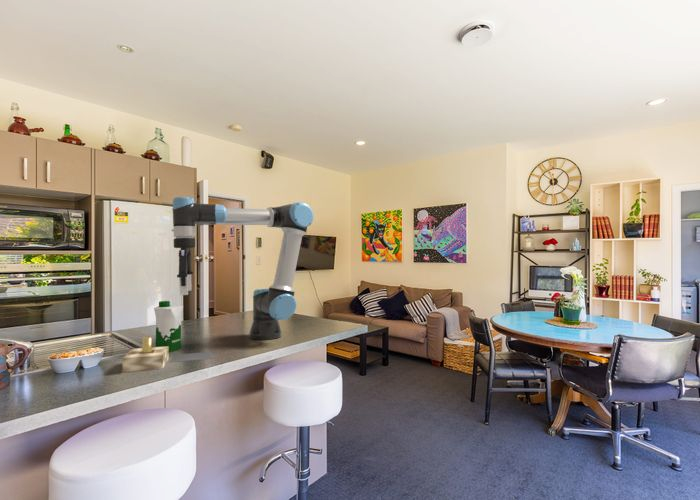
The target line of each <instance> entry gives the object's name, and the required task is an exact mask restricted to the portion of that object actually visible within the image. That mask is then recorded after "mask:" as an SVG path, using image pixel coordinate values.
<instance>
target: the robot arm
mask: <svg viewBox="0 0 700 500" xmlns="http://www.w3.org/2000/svg"><path fill="white" fill-rule="evenodd" d="M171 211H172V221H173V222H172V223H173V225H172V227H173V228H172V229H171V232H172V233H173V237H175V238H173V248H175V249H180V250H179V251H178V274H177V275H176V278H179V279H178V280H179V282H178V283H179V296H188V295H189V292H191V291H192V275H193V274H194V272H193V271H192V266H191V265H192V262H191V261H192V259H191V257H192V253H191V251H190V250H191V248H193V249H194V248H195V247H196V238H195V237H196V226H212V225H213V226H214V225H219V226H220V225H221V226H223V225H224V226H225V225H227V226H233V225H234V226H267V227H268V228H280V229H281V231H282V232H283V236H282V240H281V244H280V250H279V253H278V255H279V256H278V261H277V264H276V269H275V270H276V271H275V274H274V279H273V284H271V285H270V286H269V287H268V288H259V289H257V288H256V289H255V290H254V291H253V294H252V299H253V300H252V301H253V303H252V305H253V307H252V311H253V312H252V318H253V319H252V320H253V321H252V323H251V327H250V329H249V332H248V336H249V338H250V339H252V340H257V341H268V340H269V341H270V340H274V339H278V338H281V337H282V328H281V326H280V321H283V320H284V321H285V320H287V319H289V318H291V317H292V316H293V315H294V314H295V312H296V309H297V300H296V299H295V297H294V296H295V293H296V292H295V291H296V290H295V289H294V288H293V284H294V280H295V275H296V269H297V264H298V259H299V254H300V250H301V246H302V245H301V244H302V239H303V237H304V236H305V235H306V234H307V231H308V227H309V226H311V225H312V223H313V222H314V216H315V215H314V212H313V209H311V206H310V205H309V204H308V203H305V202H301V201H299V202H293V203H289V204H284V205H280V206H275V207H272V206H271V207H270V206H269V207H267V208H265V209H264V208H262V209H261V208H237V207H234V208H233V207H231V208H230V207H225V205H223V204H218V203H215V204H214V203H197V202H195V199H194V198H193V197H189V196H176V197H174V198H173V199H172V210H171Z"/></svg>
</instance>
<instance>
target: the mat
mask: <svg viewBox="0 0 700 500" xmlns="http://www.w3.org/2000/svg"><path fill="white" fill-rule="evenodd" d="M212 355H213V351H205V352H204V351H203V352H190V353H177V354H173V355H172V357H171V359H169V360H170V361H169V363H178V362H179V363H180V362H189V361H201V360H211V359H212Z"/></svg>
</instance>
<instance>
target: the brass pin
mask: <svg viewBox="0 0 700 500" xmlns="http://www.w3.org/2000/svg"><path fill="white" fill-rule="evenodd" d="M141 342H142V345H141V348H142V354H146V353H152V347H153V336H144V337H142V341H141Z"/></svg>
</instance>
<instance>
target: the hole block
mask: <svg viewBox="0 0 700 500" xmlns="http://www.w3.org/2000/svg"><path fill="white" fill-rule="evenodd" d="M169 353H170V352H169V346H165V347H155V346H154V347H153V346H152V353H146V354H142V347H141V348H140V347H138V348H131V349H130V350H129V351H128V352H127V353H126V354H125V355H124V356H123V357H122V370H121V371H122V373H127V372H141V371H152V370H160V369H161V370H162V369H164V367H165V366H166V364H167V362H168V360H170V358H169V356H170V355H169Z"/></svg>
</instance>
